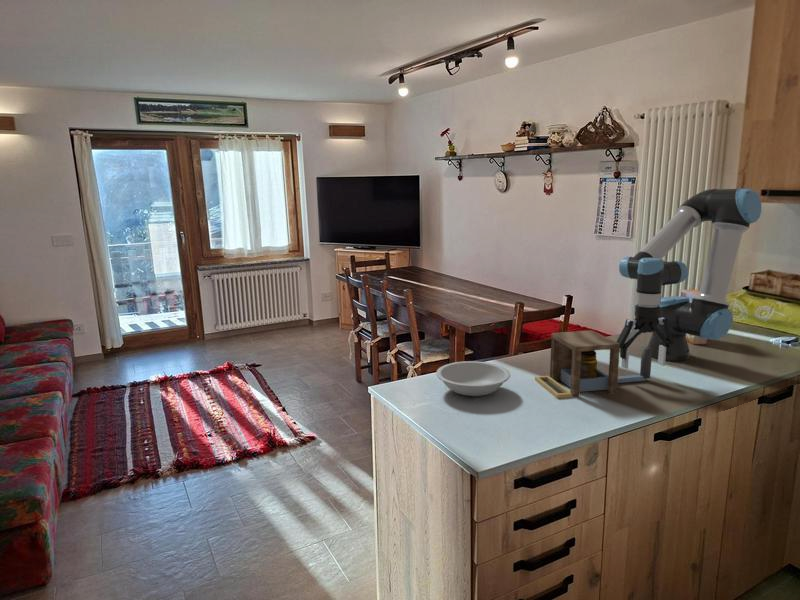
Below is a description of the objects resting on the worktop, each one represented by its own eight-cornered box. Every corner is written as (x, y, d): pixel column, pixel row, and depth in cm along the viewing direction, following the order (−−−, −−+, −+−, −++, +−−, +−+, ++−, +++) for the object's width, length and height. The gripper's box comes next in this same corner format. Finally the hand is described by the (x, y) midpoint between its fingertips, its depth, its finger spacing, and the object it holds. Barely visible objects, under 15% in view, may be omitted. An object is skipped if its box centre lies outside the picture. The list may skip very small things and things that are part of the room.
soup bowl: (455, 374, 193) (455, 357, 192) (520, 386, 181) (520, 367, 180) (423, 397, 173) (423, 378, 172) (494, 411, 161) (494, 391, 160)
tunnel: (589, 375, 190) (592, 330, 186) (616, 393, 173) (619, 343, 170) (549, 378, 187) (551, 333, 184) (573, 397, 171) (575, 347, 168)
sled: (639, 373, 189) (641, 343, 187) (659, 384, 179) (661, 353, 177) (560, 380, 185) (561, 349, 182) (576, 392, 174) (577, 359, 172)
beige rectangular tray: (548, 378, 187) (548, 375, 187) (571, 397, 171) (571, 393, 171) (534, 380, 186) (534, 376, 186) (556, 398, 170) (557, 394, 170)
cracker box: (708, 344, 222) (713, 295, 218) (693, 345, 222) (698, 295, 218) (690, 335, 236) (695, 288, 232) (676, 335, 236) (680, 289, 232)
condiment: (601, 386, 180) (603, 351, 177) (584, 392, 175) (586, 356, 173) (583, 380, 186) (584, 346, 183) (566, 385, 181) (568, 351, 179)
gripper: (674, 300, 184) (669, 359, 188) (606, 304, 180) (603, 365, 184) (689, 305, 177) (683, 366, 181) (619, 309, 173) (615, 372, 177)
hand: (643, 366), depth 183 cm, fingers open, 13 cm apart
